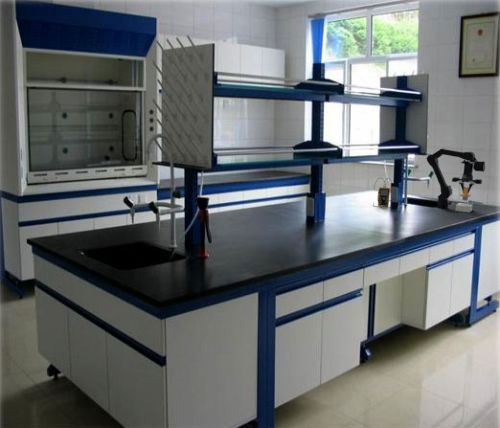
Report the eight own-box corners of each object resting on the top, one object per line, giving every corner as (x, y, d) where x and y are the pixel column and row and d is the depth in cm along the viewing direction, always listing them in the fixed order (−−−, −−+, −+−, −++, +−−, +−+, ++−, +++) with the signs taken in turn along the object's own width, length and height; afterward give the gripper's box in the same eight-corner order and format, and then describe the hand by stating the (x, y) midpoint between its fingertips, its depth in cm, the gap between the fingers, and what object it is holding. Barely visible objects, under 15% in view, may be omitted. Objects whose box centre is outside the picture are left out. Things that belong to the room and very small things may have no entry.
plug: (459, 200, 383) (460, 187, 381) (461, 199, 388) (462, 186, 386) (468, 201, 380) (470, 188, 378) (470, 200, 385) (471, 187, 383)
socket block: (455, 210, 383) (456, 205, 383) (458, 208, 392) (458, 202, 391) (469, 212, 379) (470, 206, 378) (471, 210, 387) (472, 204, 387)
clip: (480, 206, 378) (481, 202, 377) (467, 203, 388) (467, 200, 387) (482, 206, 379) (482, 202, 378) (469, 203, 388) (469, 199, 388)
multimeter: (371, 207, 387) (373, 178, 383) (372, 205, 396) (374, 177, 392) (393, 209, 383) (395, 180, 379) (394, 206, 392) (396, 178, 388)
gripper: (451, 170, 378) (449, 193, 381) (480, 172, 368) (478, 196, 372) (454, 168, 387) (452, 191, 390) (483, 171, 378) (480, 193, 381)
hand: (465, 193), depth 383 cm, fingers closed on plug, 3 cm apart
